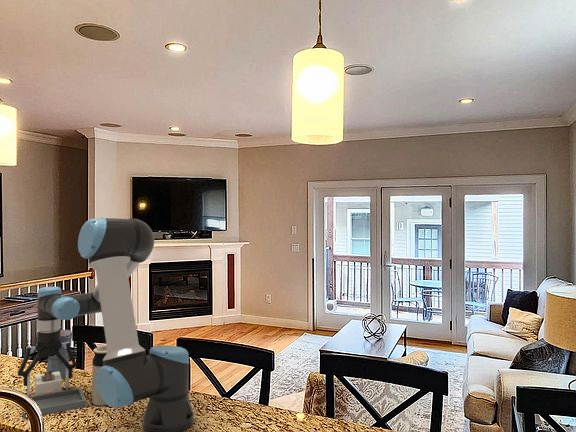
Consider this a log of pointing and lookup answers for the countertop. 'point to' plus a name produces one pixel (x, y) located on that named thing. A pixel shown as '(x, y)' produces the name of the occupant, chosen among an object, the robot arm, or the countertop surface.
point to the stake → (48, 376)
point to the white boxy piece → (48, 384)
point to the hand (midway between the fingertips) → (48, 390)
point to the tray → (59, 401)
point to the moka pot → (55, 362)
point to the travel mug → (96, 365)
